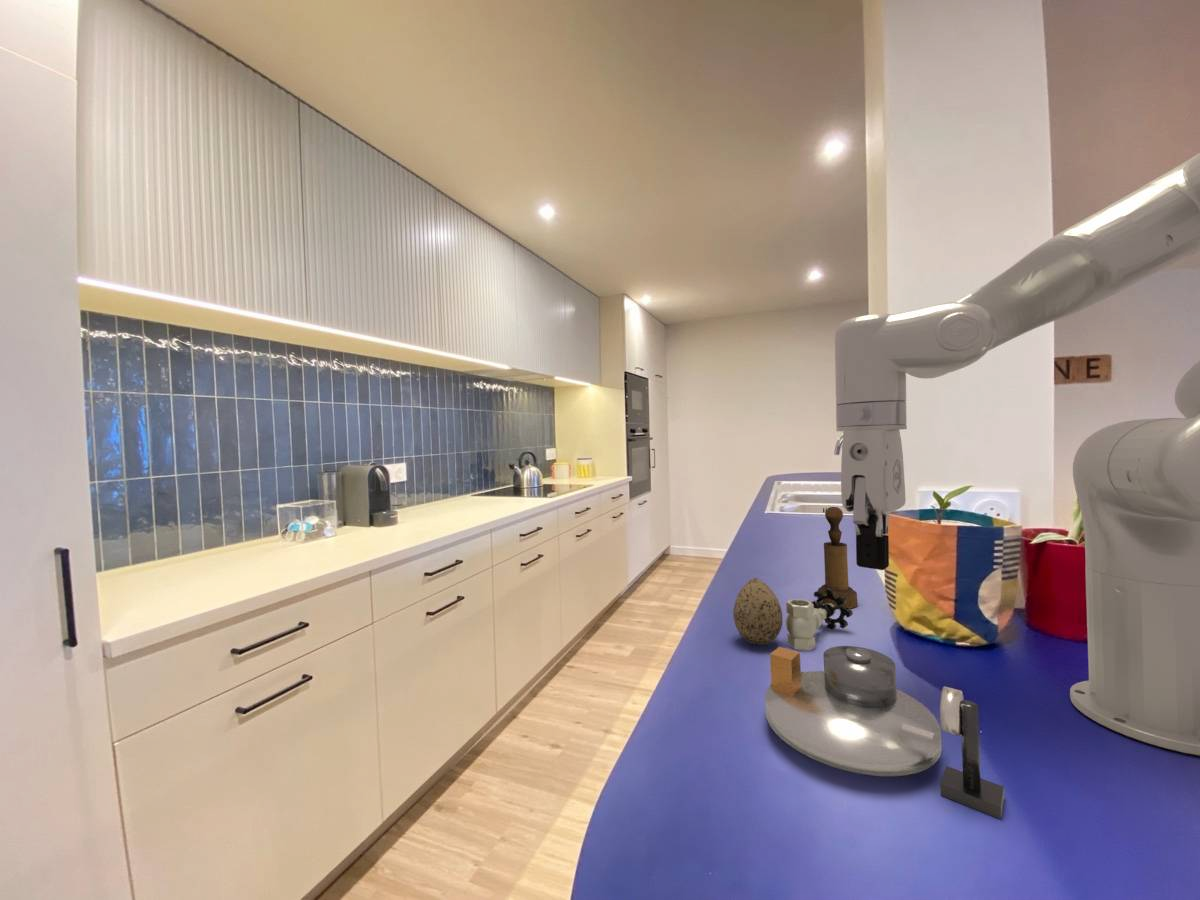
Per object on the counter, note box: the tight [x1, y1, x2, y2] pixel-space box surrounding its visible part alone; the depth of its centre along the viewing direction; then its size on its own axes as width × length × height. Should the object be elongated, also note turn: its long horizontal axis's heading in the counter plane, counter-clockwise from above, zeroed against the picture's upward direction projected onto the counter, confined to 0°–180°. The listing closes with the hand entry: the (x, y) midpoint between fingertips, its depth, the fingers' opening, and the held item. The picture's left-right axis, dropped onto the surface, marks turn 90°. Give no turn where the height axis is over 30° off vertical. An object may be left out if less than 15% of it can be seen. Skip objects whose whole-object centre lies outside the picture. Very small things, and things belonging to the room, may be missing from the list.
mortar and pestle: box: [817, 506, 858, 609], centre depth 88 cm, size 7×6×18 cm
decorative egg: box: [732, 577, 783, 646], centre depth 73 cm, size 7×7×10 cm
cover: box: [823, 645, 897, 708], centre depth 52 cm, size 7×7×4 cm
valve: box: [785, 588, 854, 652], centre depth 74 cm, size 7×7×12 cm
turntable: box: [764, 646, 942, 777], centre depth 49 cm, size 16×16×6 cm
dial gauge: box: [939, 686, 1005, 820], centre depth 40 cm, size 4×4×9 cm
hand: (872, 566), depth 59 cm, fingers closed
